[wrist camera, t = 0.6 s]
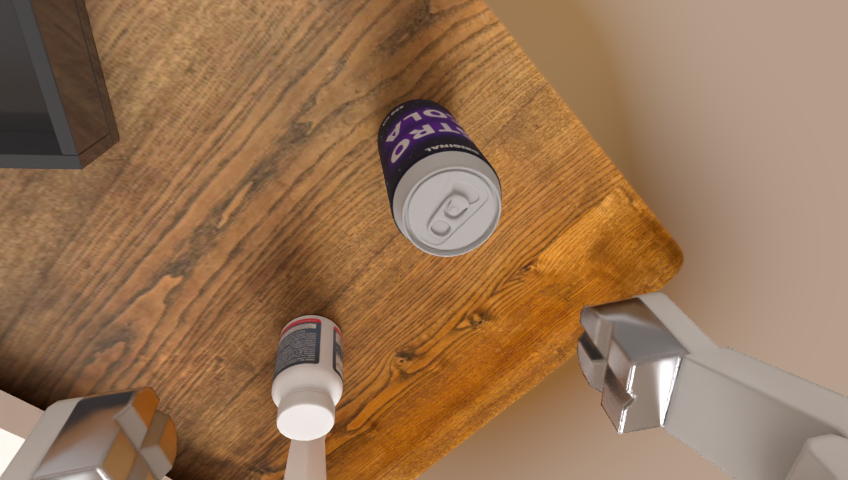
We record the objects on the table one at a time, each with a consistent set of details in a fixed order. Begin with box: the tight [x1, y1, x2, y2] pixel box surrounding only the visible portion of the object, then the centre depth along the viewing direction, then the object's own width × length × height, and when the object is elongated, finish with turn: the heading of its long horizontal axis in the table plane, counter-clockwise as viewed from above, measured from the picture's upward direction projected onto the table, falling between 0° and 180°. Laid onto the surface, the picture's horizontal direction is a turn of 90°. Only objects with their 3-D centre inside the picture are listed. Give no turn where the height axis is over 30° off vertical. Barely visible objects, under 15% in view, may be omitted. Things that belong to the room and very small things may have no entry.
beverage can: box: [378, 99, 501, 257], centre depth 27 cm, size 6×6×12 cm
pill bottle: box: [272, 315, 343, 441], centre depth 36 cm, size 5×5×9 cm
